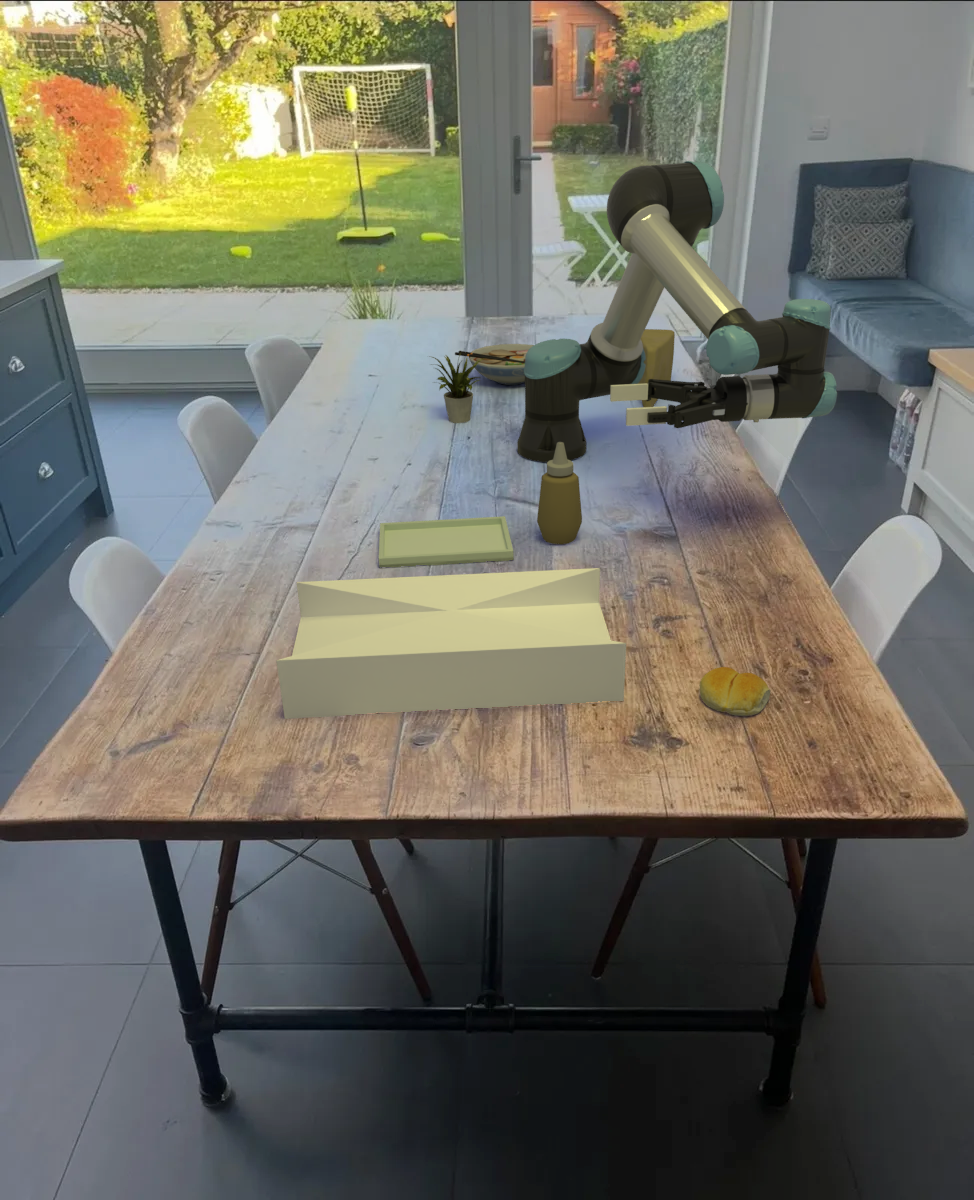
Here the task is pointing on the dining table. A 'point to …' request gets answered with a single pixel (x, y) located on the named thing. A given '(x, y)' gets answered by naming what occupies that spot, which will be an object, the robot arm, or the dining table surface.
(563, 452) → the squeeze bottle
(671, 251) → the robot arm
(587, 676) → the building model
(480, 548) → the tray
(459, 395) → the house plant
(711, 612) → the dining table surface
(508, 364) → the ramen bowl
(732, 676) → the bread roll
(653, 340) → the cheese
